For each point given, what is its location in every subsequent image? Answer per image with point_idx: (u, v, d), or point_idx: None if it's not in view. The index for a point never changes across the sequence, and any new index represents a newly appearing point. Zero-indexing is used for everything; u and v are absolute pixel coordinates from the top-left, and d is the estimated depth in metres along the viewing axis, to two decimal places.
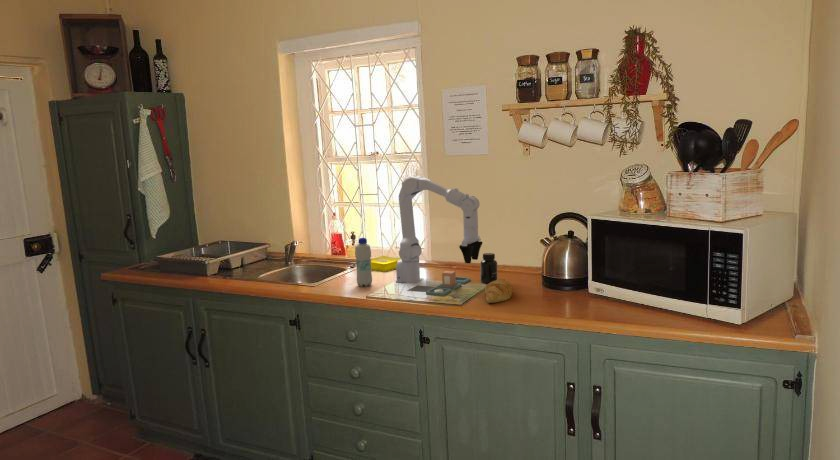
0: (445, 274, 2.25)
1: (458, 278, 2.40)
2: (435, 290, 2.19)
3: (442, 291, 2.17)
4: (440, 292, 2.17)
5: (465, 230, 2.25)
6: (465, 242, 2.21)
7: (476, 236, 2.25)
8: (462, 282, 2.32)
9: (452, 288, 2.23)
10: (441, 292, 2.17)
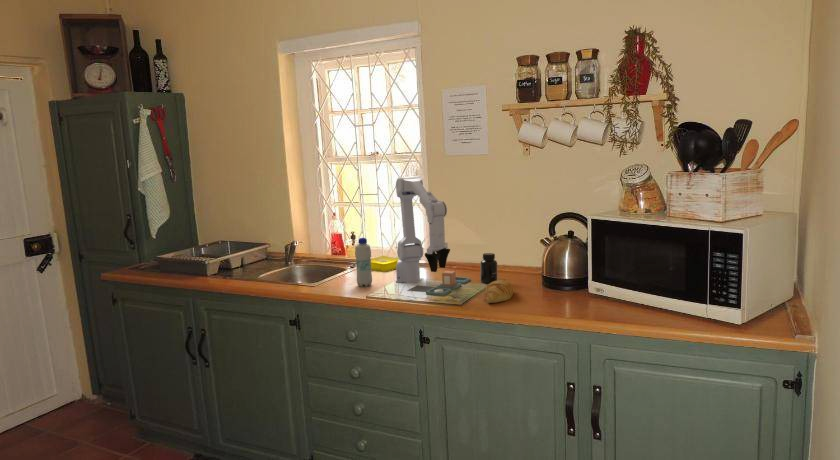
0: (445, 274, 2.25)
1: (458, 278, 2.40)
2: (435, 290, 2.18)
3: (442, 291, 2.17)
4: (440, 292, 2.17)
5: (431, 237, 2.14)
6: (430, 250, 2.10)
7: (442, 243, 2.14)
8: (462, 282, 2.32)
9: (452, 288, 2.23)
10: (441, 292, 2.17)
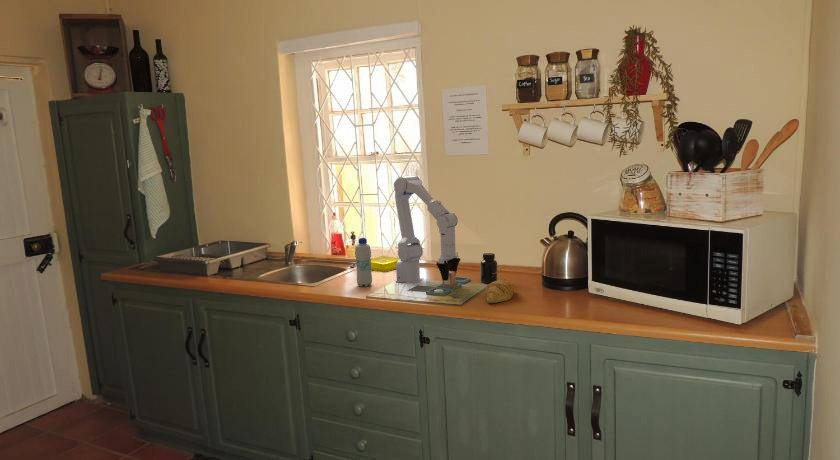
0: None
1: (458, 278, 2.40)
2: (435, 290, 2.18)
3: (442, 291, 2.17)
4: (440, 292, 2.17)
5: (443, 247, 2.23)
6: (442, 259, 2.19)
7: (453, 253, 2.24)
8: (462, 282, 2.32)
9: (452, 288, 2.23)
10: (441, 292, 2.17)
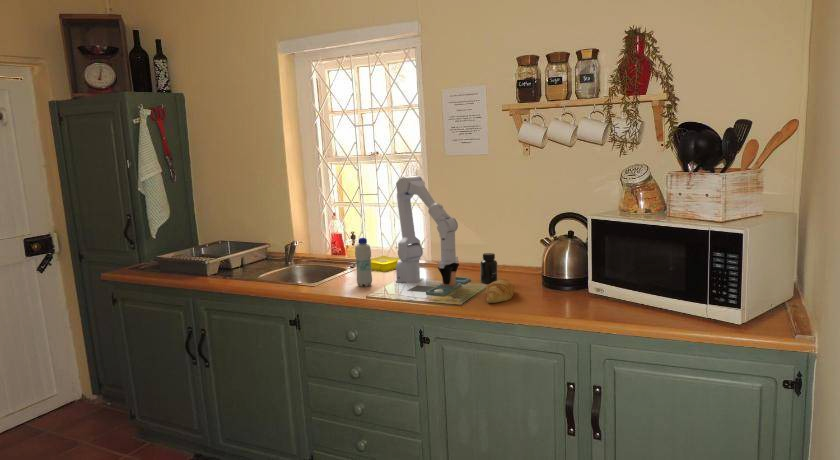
0: None
1: (458, 278, 2.40)
2: (435, 290, 2.18)
3: (442, 291, 2.18)
4: (441, 292, 2.17)
5: (443, 252, 2.24)
6: (442, 264, 2.19)
7: (453, 258, 2.24)
8: (462, 282, 2.32)
9: (452, 288, 2.23)
10: (441, 292, 2.17)
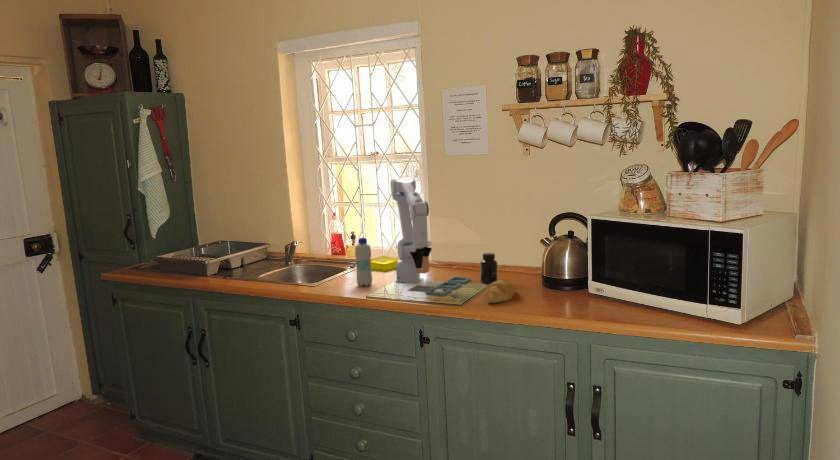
0: None
1: (458, 278, 2.40)
2: (435, 290, 2.18)
3: None
4: (441, 292, 2.17)
5: (414, 235, 2.21)
6: (413, 248, 2.17)
7: (425, 241, 2.22)
8: (462, 282, 2.32)
9: (452, 288, 2.23)
10: (442, 292, 2.17)
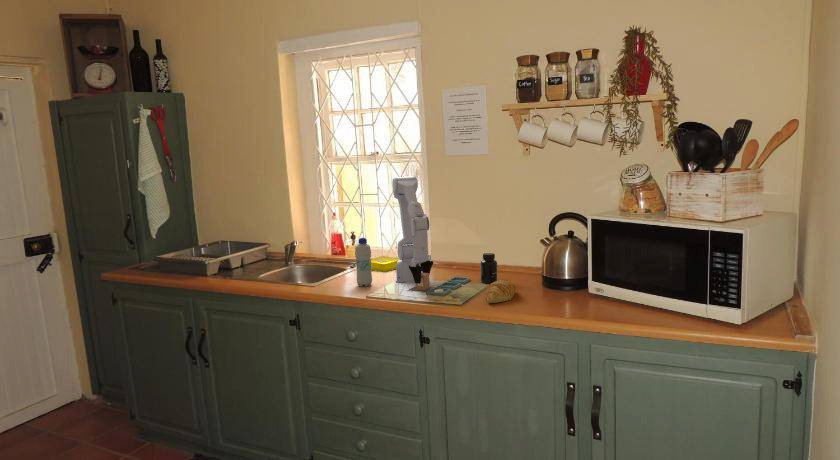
0: None
1: (458, 278, 2.40)
2: (435, 290, 2.18)
3: None
4: (441, 292, 2.17)
5: (415, 250, 2.22)
6: (414, 262, 2.18)
7: (426, 256, 2.23)
8: (462, 282, 2.32)
9: (452, 288, 2.23)
10: (442, 291, 2.17)
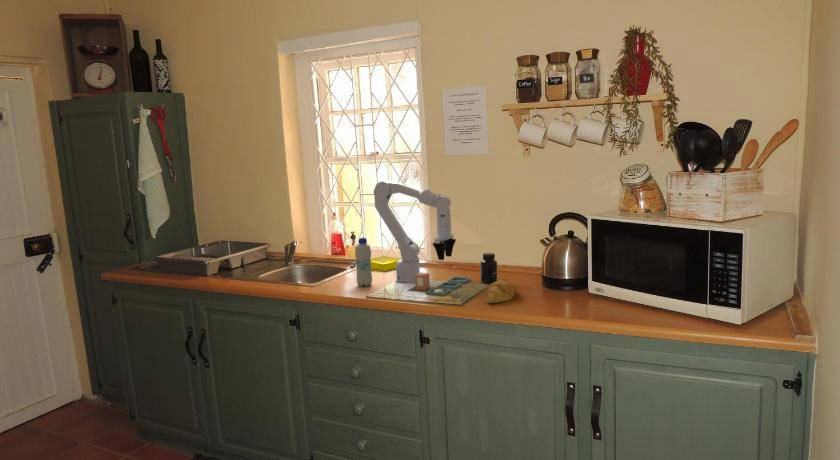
0: (418, 276, 2.24)
1: (458, 278, 2.40)
2: (435, 290, 2.18)
3: None
4: (442, 292, 2.17)
5: (439, 228, 2.34)
6: (438, 239, 2.30)
7: (449, 234, 2.34)
8: (462, 282, 2.32)
9: (452, 288, 2.23)
10: (442, 292, 2.18)
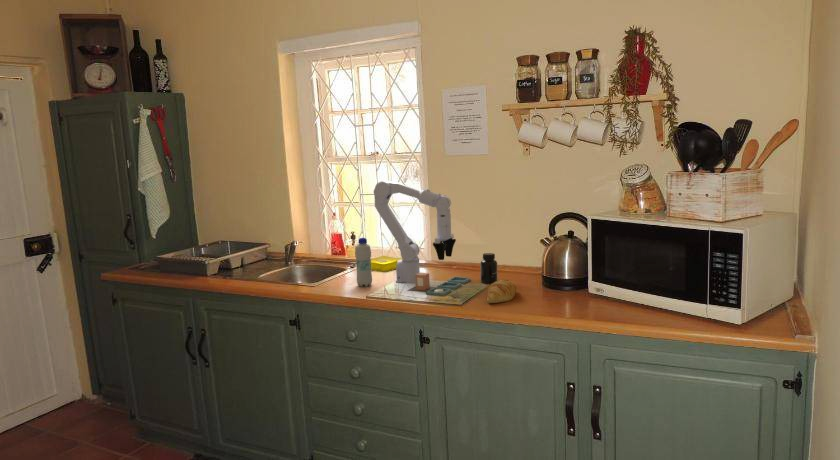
0: (418, 276, 2.24)
1: (458, 278, 2.40)
2: (435, 290, 2.18)
3: None
4: (442, 292, 2.17)
5: (439, 228, 2.34)
6: (438, 239, 2.30)
7: (449, 234, 2.34)
8: (462, 282, 2.32)
9: (452, 288, 2.23)
10: None
